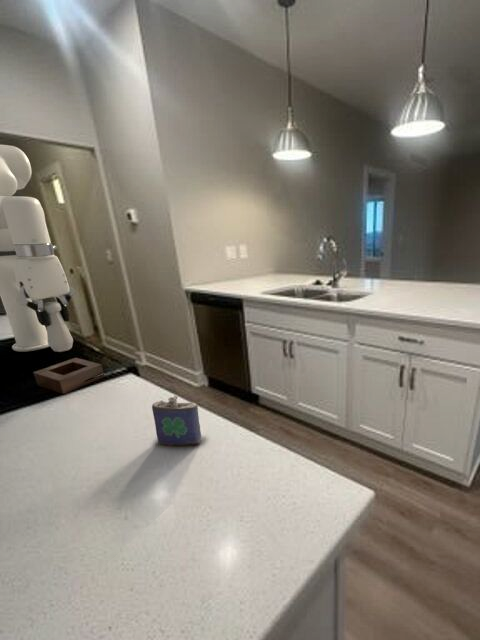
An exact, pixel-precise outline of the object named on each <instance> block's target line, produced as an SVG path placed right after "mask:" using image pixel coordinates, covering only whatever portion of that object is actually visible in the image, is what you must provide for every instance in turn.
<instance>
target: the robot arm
mask: <svg viewBox="0 0 480 640" xmlns="http://www.w3.org/2000/svg"><path fill="white" fill-rule="evenodd" d="M32 172H33V171H32V166H31V163H30V160H29V158H28V156H27V155H26V153H25V152H24V151H22V149H21V148H19V147H17V146H15V145H9V144H0V252H15V253H16V254H13V255H12V254H11V255H0V299H1V302H2V305H3V309H4V311H5V314H6V318H7V319H8V322H9V325H10V328H11V331H12V334H13V338H14V340H15V343H14V344H13V345H12V346H11V349H12V350H13V351H15V352H22V353H23V352H25V353H26V352H33V351H39V350H42V349H47V348H49V347H50V346H49V344H48V340H47V326H50V322H49V318H48V315H47V312H46V311H44V309H43V303H44V299H49V298H54V299H55V302H58V303H59V304H60V306H61V310H60V311H59V312H60V314H61V316H62V318H63V320H64V322H69V321H70V318H69V317H70V315H69V310H68V306H69V302H70V301H71V299H72V297H74V295H76V293H77V291H76V289H75V288H74V287H73V286H71V285H70V284H69V282H68V281H69V280H68V278H67V275H66V272H65V270H64V267H63V265H62V263H61V261H60V259H59V258H58V256H57V255H55V252H57V251H58V250H59V248H58V246H57V245H56V244H55V245H53V243H52V242H51V241H52V240H51V237H50V234H49V229H48V227H47V222H46V216H45V212H44V209H43V207H42V204H41V202H40V201H39V199H37V198H35V197H33V196H20V195H19V196H18V195H17V196H16V195H15V194H16V192H17V191H19V190H23V189H25V188H26V186H27V185H28V183H29V182H30V180H31V178H32Z"/></svg>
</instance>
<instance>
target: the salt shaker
mask: <svg viewBox="0 0 480 640" xmlns="http://www.w3.org/2000/svg"><path fill="white" fill-rule="evenodd" d="M43 309H44V311H46V312H47V315H48V318H49V322H50V326H46V331H47V340H48V344H49V347H50V349H51V350H52V351H53V352H58V353H61V352H66V351H69V350H71V349H72V348H73V345H74V344H73V343H74V339H73V336H72V334H71V332H70V330H69V328H68V326H67V324H66V321H64V320H63V318H62V316H61V314H60V312H59V311H60V310H61V306H60V304H59V303H58V302H56V301H46V302H43Z"/></svg>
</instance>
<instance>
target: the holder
mask: <svg viewBox="0 0 480 640" xmlns="http://www.w3.org/2000/svg"><path fill="white" fill-rule="evenodd" d="M103 368H104V367H103V365H102V364H101V363H97V362H95V361H94V362H93V361H90V360H87V359H82V358H79V357H74V358H70V359H68V360H65V361H62V362H58V363H56V364H54V365H51V366H48V367H45V368H42V369H39V370H36V371H33V377H34V379H35V382H36V385H37V386H38V387H41V388H45V389H46V390H50V391H53V392H56V393H59V394H61V395H66V394H68V393H70V392H72V391H74V390H78V389H80V388H82V387H85V386H86V385H89V384H91V383H94V382H96V381H98V380H101V379H103V378H105V371H104V369H103ZM102 373H104V374H103V375H100V374H102ZM97 375H100V376H98V377H95V376H97ZM92 377H95V378H93V379H91V380H88V379H90V378H92ZM86 380H88V381H86ZM85 381H86V382H85Z"/></svg>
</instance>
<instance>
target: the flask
mask: <svg viewBox="0 0 480 640" xmlns="http://www.w3.org/2000/svg"><path fill="white" fill-rule="evenodd" d="M177 399H179V397H178V396H176V395H173V396H171V397H169V398H168V399H167V400H168V401H164V400H163V399H161V400H160V401H156V402H153V403H152V405H151V410H152V414H153V420H154V426H155V433H156V439H157V442H158V444H159V445H161V446H167V447H169V446H170V447H178V446H179V447H186V446H187V447H189V446H197V445H200V444H201V443H202V441H203V437H202V432H201V431H202V430H201V423H200V416H199V407H198V404H197V403H196V402H193V401H191V402H178V400H177Z"/></svg>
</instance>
